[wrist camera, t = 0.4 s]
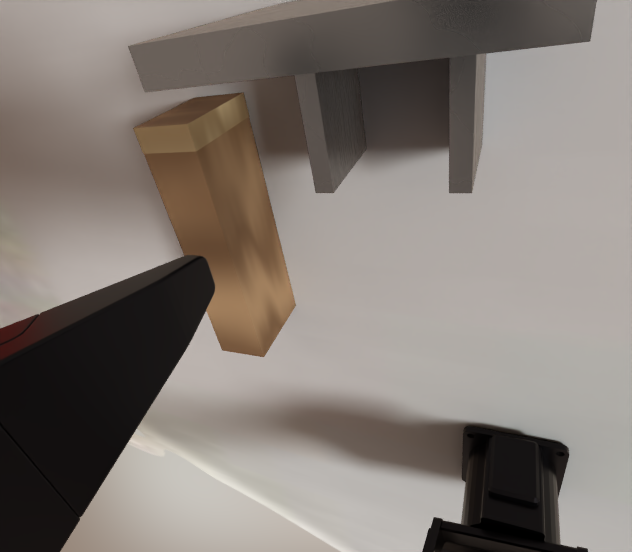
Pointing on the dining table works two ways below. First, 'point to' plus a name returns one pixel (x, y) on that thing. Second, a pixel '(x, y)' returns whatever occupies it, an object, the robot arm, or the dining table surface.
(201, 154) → the rail
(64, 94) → the dining table surface
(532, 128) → the dining table surface
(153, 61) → the cup bracket
